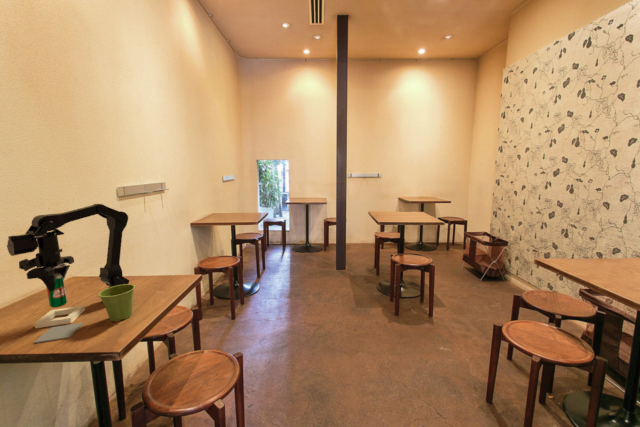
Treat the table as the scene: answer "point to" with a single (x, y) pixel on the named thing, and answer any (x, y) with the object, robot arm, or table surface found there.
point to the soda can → (57, 293)
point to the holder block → (49, 321)
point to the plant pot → (118, 301)
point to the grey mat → (59, 333)
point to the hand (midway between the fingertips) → (55, 288)
